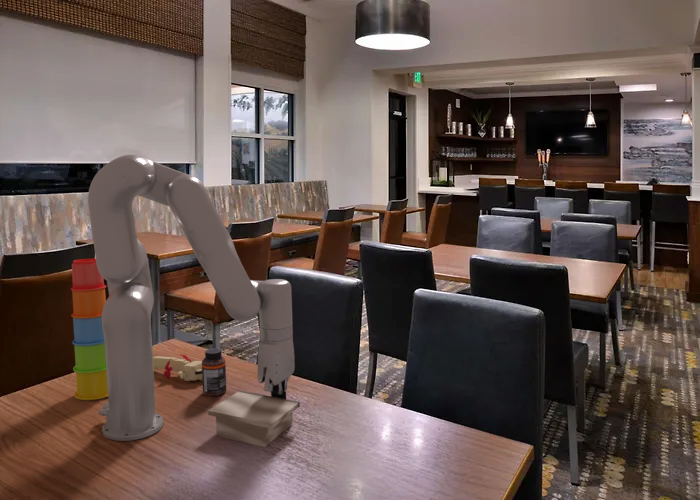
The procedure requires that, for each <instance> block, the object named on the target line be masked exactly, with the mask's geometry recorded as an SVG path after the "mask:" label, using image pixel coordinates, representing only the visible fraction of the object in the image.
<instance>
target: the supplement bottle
mask: <svg viewBox="0 0 700 500" xmlns="http://www.w3.org/2000/svg"><path fill="white" fill-rule="evenodd" d="M204 354H205V355H204V356H205V357H204V358H203V359H202V360H201V361H202V380H201V381H202V393H203V394H204V395H205V396H209V397H218V396H221V395H224V394H225V393H226V392H227V374H226V373H227V369H226V358H225V357H223V356H222V349H221V348H214V347H212V348H209V349H206V350H205V352H204Z"/></svg>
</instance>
